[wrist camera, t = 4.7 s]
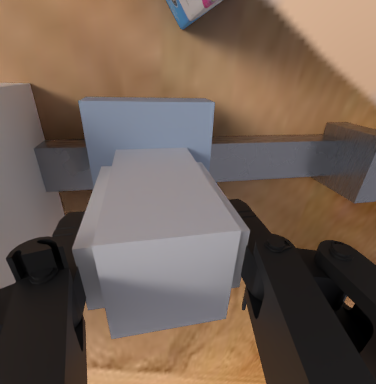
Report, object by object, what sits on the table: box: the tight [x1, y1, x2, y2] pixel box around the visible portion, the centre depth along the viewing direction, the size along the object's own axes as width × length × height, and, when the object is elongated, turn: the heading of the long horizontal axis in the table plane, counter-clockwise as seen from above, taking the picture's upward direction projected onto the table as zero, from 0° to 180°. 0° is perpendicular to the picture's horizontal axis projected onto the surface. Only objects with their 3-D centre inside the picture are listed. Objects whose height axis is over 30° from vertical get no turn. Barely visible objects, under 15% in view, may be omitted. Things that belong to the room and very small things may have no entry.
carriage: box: [78, 97, 241, 339], centre depth 12 cm, size 7×9×12 cm
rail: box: [34, 122, 376, 203], centre depth 16 cm, size 24×5×5 cm, turn 89°
